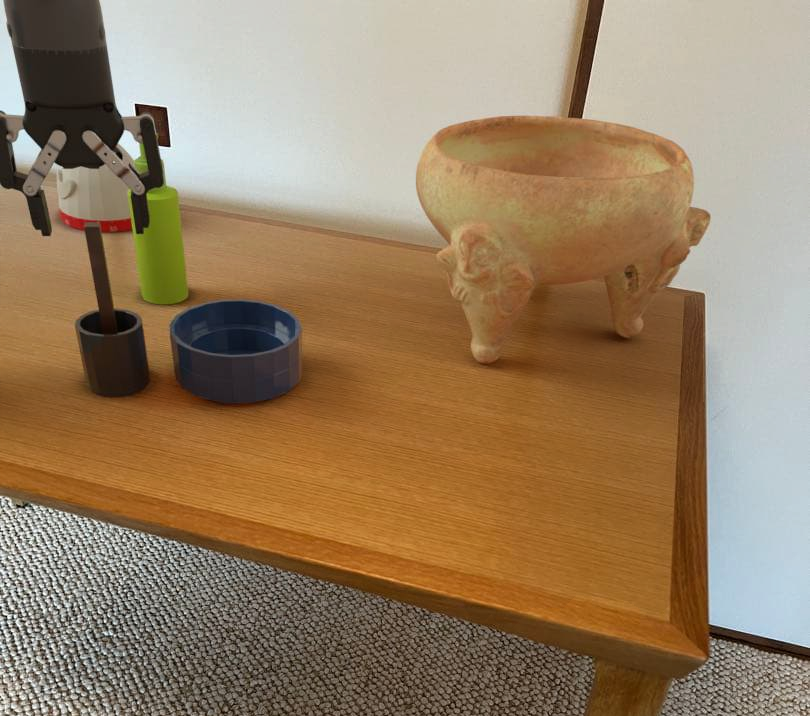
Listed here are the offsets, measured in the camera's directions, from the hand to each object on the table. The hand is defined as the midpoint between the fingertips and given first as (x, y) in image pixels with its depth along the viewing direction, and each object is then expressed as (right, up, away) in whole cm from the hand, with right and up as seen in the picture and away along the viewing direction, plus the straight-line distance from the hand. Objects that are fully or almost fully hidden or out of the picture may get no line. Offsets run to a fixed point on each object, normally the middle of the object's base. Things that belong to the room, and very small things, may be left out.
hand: (94, 232), depth 79 cm
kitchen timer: (-16, +21, +49) cm, 56 cm away
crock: (-1, -12, +10) cm, 16 cm away
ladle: (-1, -12, +10) cm, 16 cm away
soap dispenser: (-2, +3, +29) cm, 29 cm away
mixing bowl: (+11, -11, +13) cm, 21 cm away
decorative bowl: (+47, -1, +30) cm, 56 cm away
